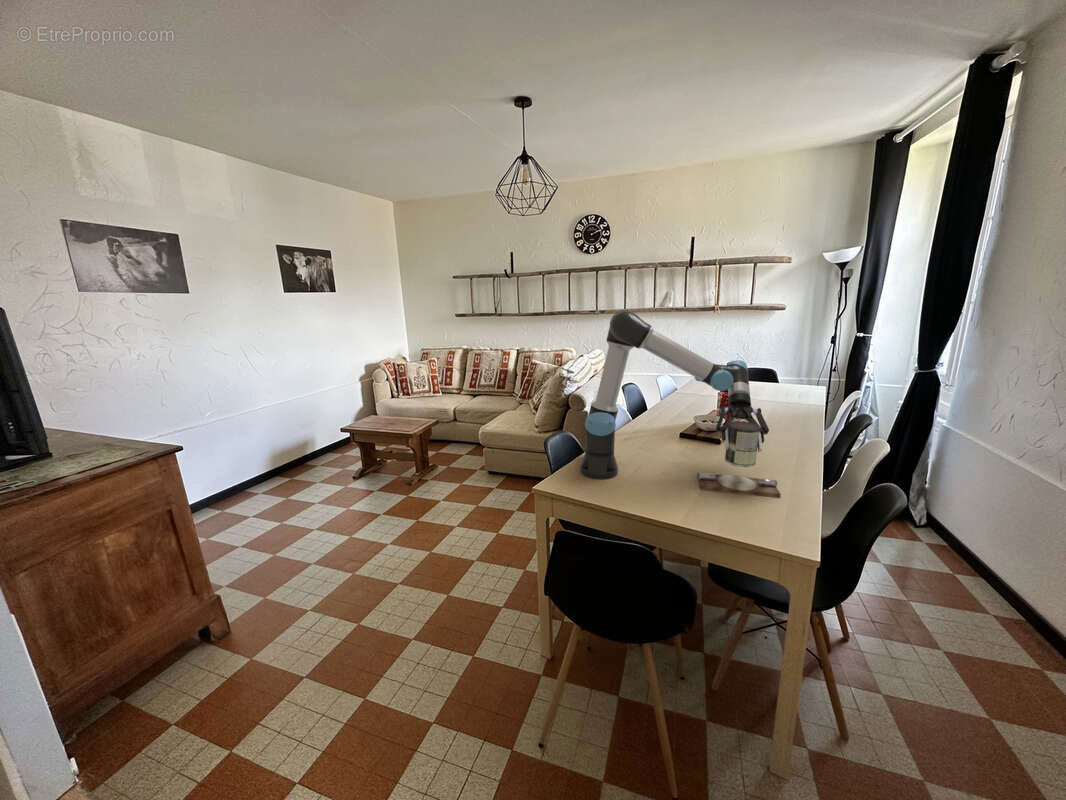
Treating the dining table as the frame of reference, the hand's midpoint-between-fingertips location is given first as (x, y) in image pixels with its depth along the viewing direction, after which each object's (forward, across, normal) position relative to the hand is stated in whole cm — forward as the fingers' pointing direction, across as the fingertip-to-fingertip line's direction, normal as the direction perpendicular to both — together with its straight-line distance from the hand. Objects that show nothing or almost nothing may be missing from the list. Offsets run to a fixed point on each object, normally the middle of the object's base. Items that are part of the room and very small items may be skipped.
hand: (743, 449), depth 146 cm
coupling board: (+9, 0, -13) cm, 16 cm away
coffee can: (+2, 0, -6) cm, 7 cm away
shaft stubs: (+8, 0, -12) cm, 14 cm away
